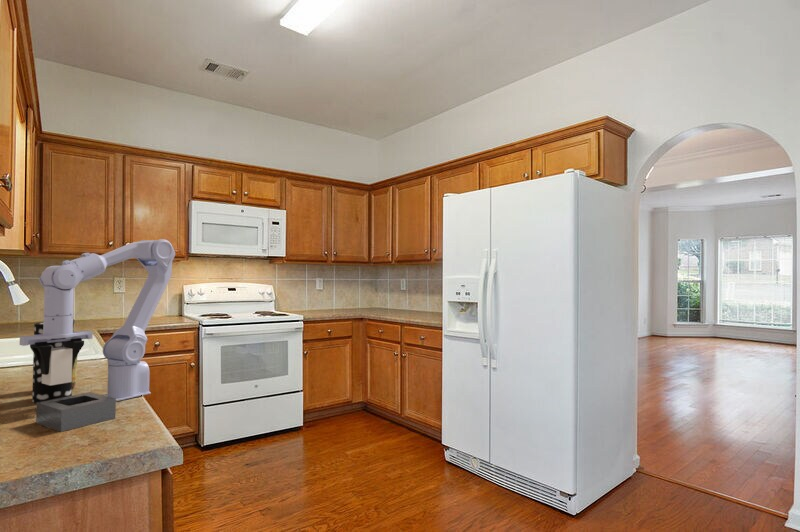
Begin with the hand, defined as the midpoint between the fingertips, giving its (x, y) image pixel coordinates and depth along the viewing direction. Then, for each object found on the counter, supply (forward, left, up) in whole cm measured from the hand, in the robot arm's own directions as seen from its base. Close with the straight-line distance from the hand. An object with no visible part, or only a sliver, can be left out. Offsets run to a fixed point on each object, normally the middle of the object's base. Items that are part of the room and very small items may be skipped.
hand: (57, 372), depth 111 cm
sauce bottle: (-12, -24, -10) cm, 28 cm away
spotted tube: (-5, -14, -10) cm, 17 cm away
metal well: (+1, +11, -9) cm, 15 cm away
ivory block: (0, 0, -2) cm, 2 cm away
